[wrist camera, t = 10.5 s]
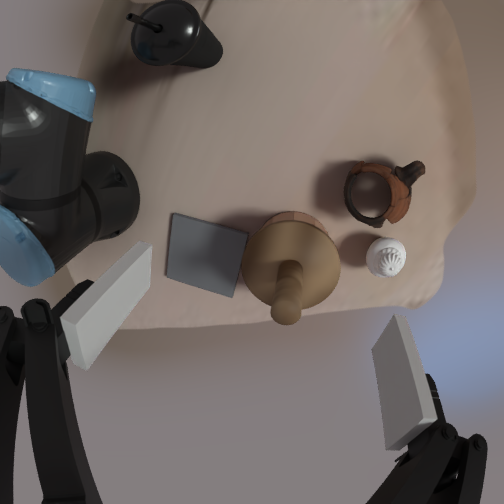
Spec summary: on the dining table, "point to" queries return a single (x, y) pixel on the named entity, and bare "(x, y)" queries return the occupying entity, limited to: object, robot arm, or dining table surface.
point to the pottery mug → (397, 185)
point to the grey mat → (205, 254)
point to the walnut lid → (290, 268)
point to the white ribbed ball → (385, 257)
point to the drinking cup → (174, 36)
